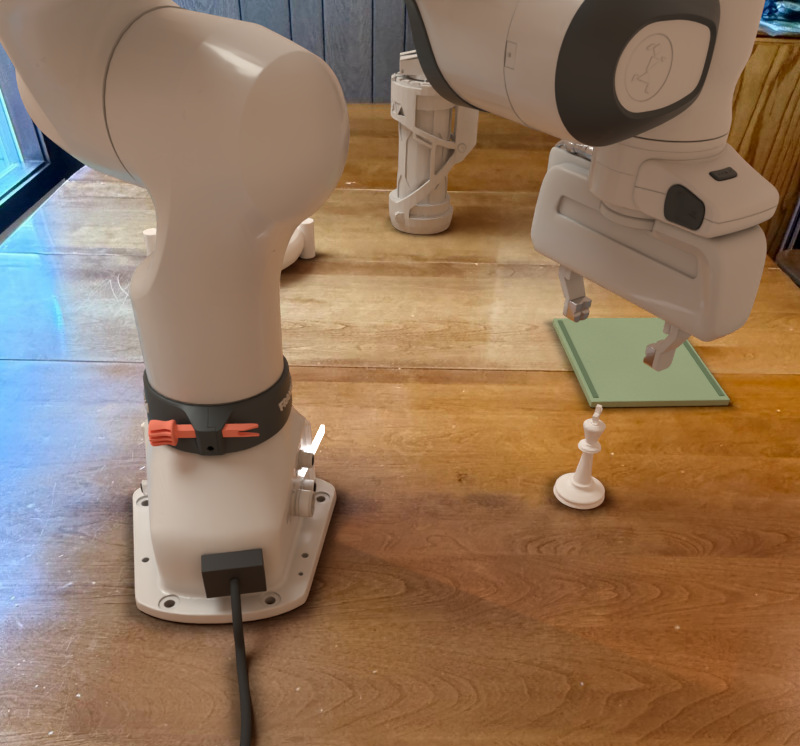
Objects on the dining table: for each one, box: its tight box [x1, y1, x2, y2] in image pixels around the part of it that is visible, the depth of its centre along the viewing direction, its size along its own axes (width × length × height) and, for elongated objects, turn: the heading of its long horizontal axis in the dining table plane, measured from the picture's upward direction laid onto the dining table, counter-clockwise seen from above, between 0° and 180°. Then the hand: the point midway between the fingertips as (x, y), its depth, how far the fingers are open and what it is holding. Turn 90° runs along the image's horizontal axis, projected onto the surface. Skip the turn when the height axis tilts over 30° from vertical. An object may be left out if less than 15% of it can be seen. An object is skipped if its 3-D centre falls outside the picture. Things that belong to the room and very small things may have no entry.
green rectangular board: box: [551, 317, 731, 408], centre depth 94 cm, size 20×16×1 cm
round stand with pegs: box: [142, 217, 316, 271], centre depth 111 cm, size 24×24×7 cm
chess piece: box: [552, 404, 607, 510], centre depth 72 cm, size 5×5×10 cm
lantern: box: [388, 49, 480, 235], centre depth 118 cm, size 13×10×25 cm
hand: (613, 341), depth 65 cm, fingers open, 8 cm apart
